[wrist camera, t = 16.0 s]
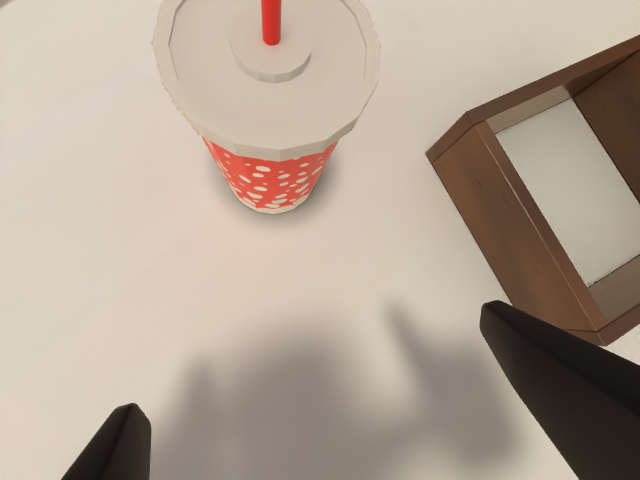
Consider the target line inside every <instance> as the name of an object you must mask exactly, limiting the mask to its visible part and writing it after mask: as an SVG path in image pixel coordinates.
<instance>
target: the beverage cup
mask: <svg viewBox="0 0 640 480" xmlns="http://www.w3.org/2000/svg"><path fill="white" fill-rule="evenodd" d="M152 46H153V50H154V54H155V58H156V62H157V66H158V70H159V74H160V78H161V82H162V85H163V87H164V89H165V91H166V92H167V93H168V95H169V96H170V97H171V99H172V102H173V104H174V105H175V106H176V107H177V109H178V110H179V111H180V112H181V113H182V115H183V116H184V117H185V118H186V120H187V121H188V122H189V123H190V125H191V126H192V127H193V128H194V130H195V131H196V132H197V133H198V134H199V135H200V136H202V138H203V140H204V141H205V143H206V145H207V147H208V149H209V150H210V152H211V154H212V156H213V158H214V159H215V161H216V163H217V165H218V166H219V168H220V170H221V172H222V174H223V175H224V177H225V179H226V181H227V183H228V184H229V186H230V188H231V190H232V191H233V192H234V193H235V195H236V196H237V197H238V198H239V200H240V201H241V202H242V203H243V204H244V205H246V206H248V207H250V208H252V209H254V210H255V211H257V212H262V213H270V214H279V213H283V212H287V211H291V210H293V209H295V208H296V207H297V206H299V205H300V204H301V203H303V202H304V201H305V200H307V198H308V196H309V194H310V193H311V191H312V189H313V187H314V186H315V184H316V182H317V180H318V178H319V176H320V174H321V172H322V171H323V169H324V167H325V165H326V163H327V161H328V159H329V157H330V155H331V154H332V152H333V150H334V148H335V146H336V144H337V142H338V140H339V139H340V138H341V137H343V136H344V135H346V134H347V133H348V132H350V131H351V130H352V129H353V127H354V125H355V123H356V122H357V120H358V118H359V116H360V115H361V113H362V111H363V109H364V108H365V106H366V104H367V102H368V101H369V99H370V97H371V95H372V93H373V92H374V90H375V88H376V86H377V84H378V76H379V61H380V47H381V45H380V42H379V40H378V37H377V34H376V31H375V29H374V26H373V23H372V20H371V18H370V15H369V12H368V10H367V8H366V7H365V6H364V5H363V4H362V3H361V2H360V0H164V1H163V2H162V3H161V5H160V9H159V14H158V18H157V23H156V27H155V31H154V36H153V40H152Z"/></svg>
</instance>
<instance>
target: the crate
mask: <svg viewBox="0 0 640 480" xmlns="http://www.w3.org/2000/svg"><path fill="white" fill-rule="evenodd" d="M572 97H573V99H574V100H575V102H576V104H577V105H578V107H579V108H580V110H581V111H582V113H583V114H584V116H585V118H586V119H587V121H588V122H589V124H590V125H591V127H592V128H593V130H594V131H595V133H596V135H597V136H598V138H599V139H600V141H601V142H602V144H603V145H604V147H605V149H606V150H607V152H608V153H609V155H610V156H611V158H612V159H613V161H614V163H615V164H616V166H617V167H618V169H619V170H620V172H621V173H622V175H623V177H624V178H625V180H626V181H627V183H628V184H629V186H630V187H631V189H632V191H633V192H634V194H635V195H636V197H637V198H638V200H639V201H640V35H638V36H635V37H633V38H631V39H629V40H626V41H624V42H622V43H620V44H617V45H615V46H613V47H611V48H608V49H606V50H604V51H602V52H600V53H597V54H595V55H593V56H591V57H588V58H586V59H584V60H582V61H579V62H577V63H575V64H573V65H570V66H568V67H566V68H564V69H561V70H559V71H557V72H555V73H552V74H550V75H548V76H546V77H543V78H541V79H539V80H537V81H534V82H532V83H530V84H528V85H525V86H523V87H521V88H519V89H516V90H514V91H512V92H510V93H507V94H505V95H503V96H501V97H498V98H496V99H494V100H492V101H489V102H487V103H485V104H483V105H480V106H478V107H476V108H474V109H471V110H469V111H467V112H465V113H464V114H463V115H462V116H461V117H460V118H459V119H458V120H457V122H456V123H455V124H454V125H453V126H452V127H451V128H450V129H449V130H448V131H447V132H446V133H445V134H444V135H443V136H442V137H441V138H440V139H439V140H438V141H437V142H436V143H435V144H434V145H433V146H432V147H431V148H430V149H429V150H428V151H427V152H426V154H427V156H428V158H429V159H430V161H431V163H432V164H433V166H434V168H435V170H436V171H437V173H438V175H439V177H440V178H441V180H442V182H443V184H444V185H445V187H446V189H447V191H448V192H449V194H450V196H451V198H452V199H453V201H454V203H455V204H456V206H457V208H458V210H459V211H460V213H461V215H462V217H463V218H464V220H465V222H466V224H467V225H468V227H469V229H470V231H471V232H472V234H473V236H474V238H475V239H476V241H477V243H478V245H479V246H480V248H481V250H482V252H483V253H484V255H485V257H486V258H487V260H488V262H489V264H490V265H491V267H492V269H493V271H494V272H495V274H496V276H497V278H498V279H499V281H500V283H501V285H502V286H503V288H504V290H505V292H506V293H507V295H508V297H509V299H510V300H511V302H512V304H513V305H514V307H515V308H517V309H519V310H522V311H524V312H526V313H528V314H530V315H532V316H534V317H537V318H539V319H541V320H543V321H545V322H547V323H549V324H552V325H554V326H556V327H558V328H560V329H562V330H564V331H567V332H569V333H571V334H573V335H575V336H577V337H580V338H582V339H584V340H586V341H588V342H590V343H592V344H595V345H597V346H604V347H606V346H608V345H610V344H611V343H613V342H614V341H615V340H617V339H618V338H620V337H621V336H623V335H624V334H626V333H627V332H629V331H630V330H631V329H633V328H634V327H636V326H637V325H639V324H640V256H638V257H636V258H635V259H633V260H632V261H630V262H628V263H627V264H625V265H624V266H622V267H621V268H619V269H617V270H616V271H614V272H613V273H611V274H609V275H608V276H606V277H605V278H603V279H602V280H600V281H598V282H597V283H595V284H594V285H592V286H590V287H589V288H587V287H586V285H585V284H584V282H583V280H582V279H581V277H580V275H579V274H578V272H577V270H576V269H575V267H574V266H573V264H572V262H571V261H570V259H569V257H568V256H567V254H566V252H565V251H564V249H563V247H562V246H561V244H560V242H559V241H558V239H557V237H556V236H555V234H554V232H553V231H552V229H551V227H550V226H549V224H548V223H547V221H546V219H545V218H544V216H543V214H542V213H541V211H540V209H539V208H538V206H537V204H536V203H535V201H534V199H533V198H532V196H531V194H530V193H529V191H528V189H527V188H526V186H525V184H524V183H523V181H522V180H521V178H520V176H519V175H518V173H517V171H516V170H515V168H514V166H513V165H512V163H511V161H510V160H509V158H508V156H507V155H506V153H505V151H504V150H503V148H502V146H501V145H500V143H499V141H498V140H497V138H496V137H495V135H494V134H495V133H497V132H499V131H502V130H504V129H506V128H508V127H510V126H512V125H514V124H516V123H519V122H521V121H523V120H525V119H527V118H529V117H531V116H533V115H536V114H538V113H540V112H542V111H544V110H546V109H548V108H550V107H553V106H555V105H557V104H559V103H561V102H563V101H565V100H567V99H570V98H572Z"/></svg>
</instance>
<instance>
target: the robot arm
mask: <svg viewBox="0 0 640 480" xmlns="http://www.w3.org/2000/svg"><path fill="white" fill-rule="evenodd" d="M480 330H481V333H482V335H483V337H484V338H485V340H486V342H487V344H488V345H489V347H490V349H491V351H492V352H493V354H494V356H495V358H496V359H497V361H498V363H499V364H500V366H501V368H502V370H503V371H504V373H505V375H506V377H507V378H508V380H509V382H510V383H511V385H512V386H513V388H514V389H515V391H516V392H517V394H518V395H519V397H520V398H521V399H522V401H523V402H524V404H525V405H526V406H527V408H528V409H529V410H530V412H531V413H532V415H533V416H534V417H535V419H536V420H537V422H538V423H539V424H540V426H541V427H542V429H543V430H544V431H545V433H546V434H547V435H548V437H549V438H550V440H551V441H552V442H553V444H554V445H555V447H556V448H557V449H558V451H559V452H560V454H561V455H562V456H563V458H564V459H565V461H566V462H567V463H568V465H569V466H570V467H571V469H572V470H573V472H574V473H575V474H576V476H577V477H578V479H579V480H640V365H637V364H635V363H633V362H631V361H629V360H627V359H625V358H622V357H620V356H618V355H616V354H614V353H612V352H610V351H607V350H605V349H603V348H601V347H599V346H597V345H595V344H592V343H590V342H588V341H586V340H584V339H582V338H580V337H577V336H575V335H573V334H571V333H569V332H567V331H564V330H562V329H560V328H558V327H556V326H554V325H552V324H549V323H547V322H545V321H543V320H541V319H539V318H537V317H534V316H532V315H530V314H528V313H526V312H524V311H522V310H519V309H517V308H515V307H513V306H511V305H509V304H507V303H504V302H502V301H499V300H495V301H491V302H488V303H485V304H483V306H482V309H481V317H480ZM150 452H151V424H150V421H149V419H148V418H147V417H146V416H145V414H144V413H143V412H142V410H141V409H140V408H139V406H138V405H137V404H135V403H130V404H126V405H123V406H119V407H117V408H116V409H115V410H114V411H113V412H112V413H111V414H110V416H109V417H108V418H107V420H106V421H105V422H104V424H103V425H102V426H101V428H100V429H99V430H98V431H97V433H96V434H95V435H94V437H93V438H92V439H91V441H90V442H89V443H88V445H87V446H86V447H85V449H84V450H83V451H82V453H81V454H80V455H79V456H78V458H77V459H76V460H75V462H74V463H73V464H72V466H71V467H70V468H69V470H68V471H67V472H66V474H65V475H64V476H63V478H62V479H61V480H149V477H150Z"/></svg>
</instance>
